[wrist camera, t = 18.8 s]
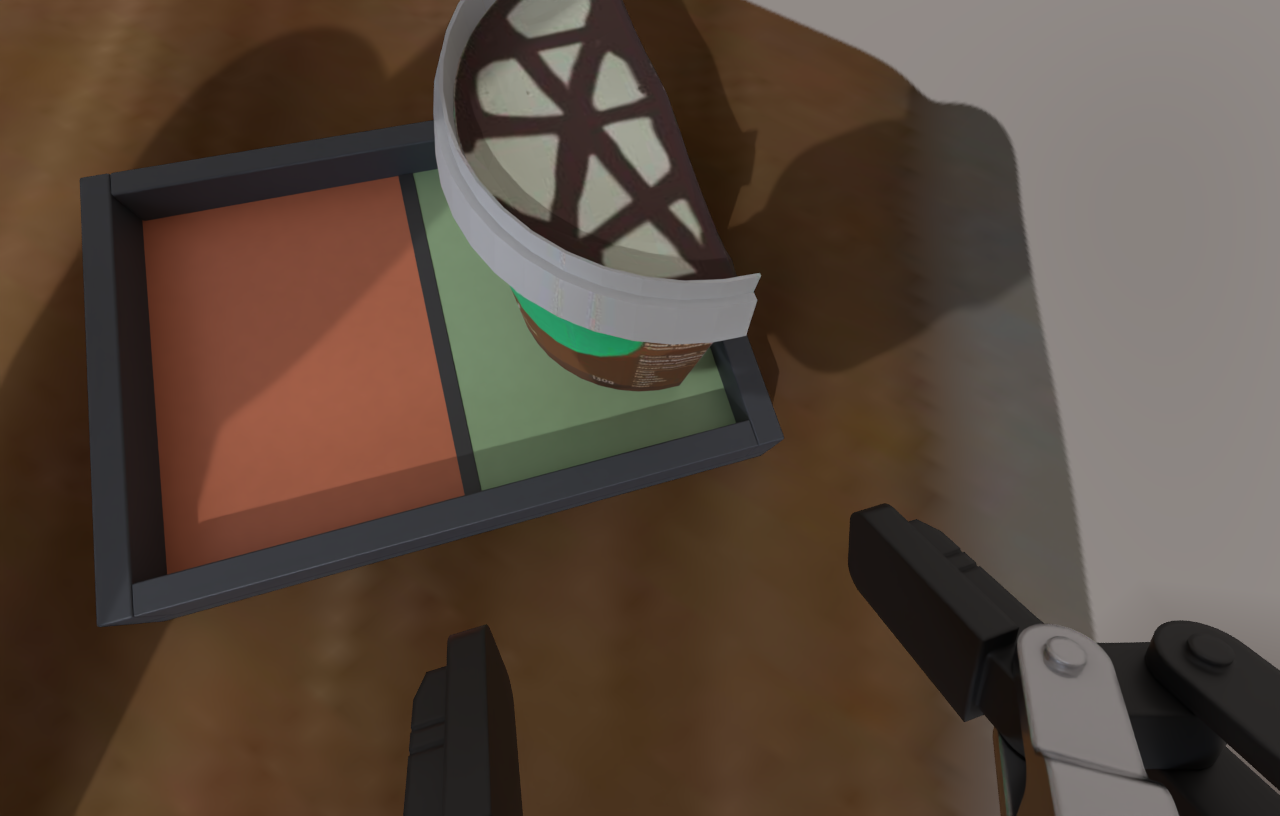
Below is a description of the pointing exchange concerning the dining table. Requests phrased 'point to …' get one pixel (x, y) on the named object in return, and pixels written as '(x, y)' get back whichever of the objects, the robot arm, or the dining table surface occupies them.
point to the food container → (582, 190)
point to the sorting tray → (339, 379)
